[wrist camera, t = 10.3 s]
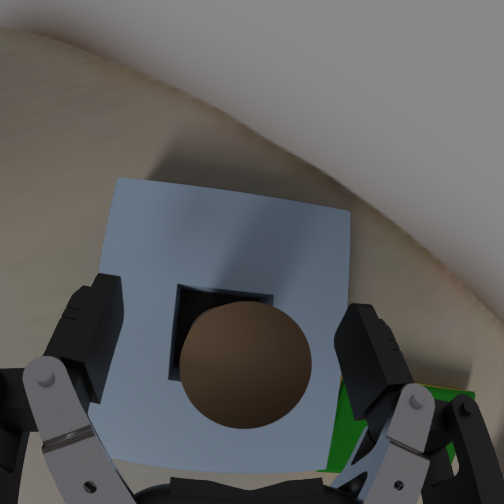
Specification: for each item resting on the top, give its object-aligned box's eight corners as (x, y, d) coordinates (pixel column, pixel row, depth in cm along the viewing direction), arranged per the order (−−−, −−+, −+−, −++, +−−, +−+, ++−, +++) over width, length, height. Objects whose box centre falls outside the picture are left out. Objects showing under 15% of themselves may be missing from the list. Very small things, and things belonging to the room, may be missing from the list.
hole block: (107, 429, 16) (89, 452, 12) (131, 202, 19) (118, 177, 15) (303, 445, 18) (325, 469, 14) (324, 228, 21) (350, 211, 17)
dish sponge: (433, 460, 20) (450, 468, 17) (300, 457, 18) (312, 471, 16) (458, 389, 21) (477, 392, 19) (332, 366, 20) (348, 371, 18)
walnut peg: (188, 356, 18) (175, 423, 7) (193, 305, 19) (186, 293, 7) (240, 361, 19) (304, 429, 7) (245, 311, 19) (317, 307, 8)
